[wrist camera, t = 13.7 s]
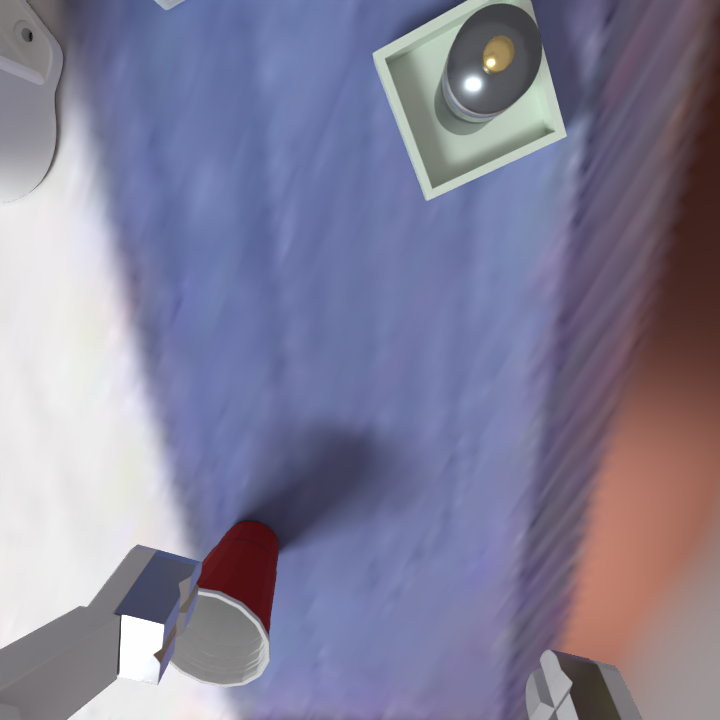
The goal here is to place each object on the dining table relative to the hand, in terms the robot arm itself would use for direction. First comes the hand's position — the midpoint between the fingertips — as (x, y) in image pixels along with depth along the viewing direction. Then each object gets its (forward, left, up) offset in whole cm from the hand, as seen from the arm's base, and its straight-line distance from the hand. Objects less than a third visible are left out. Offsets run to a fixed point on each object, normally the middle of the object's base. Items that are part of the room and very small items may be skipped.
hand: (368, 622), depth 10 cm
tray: (-12, +11, -29) cm, 33 cm away
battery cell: (-12, +11, -28) cm, 33 cm away
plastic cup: (+18, -24, -29) cm, 42 cm away
